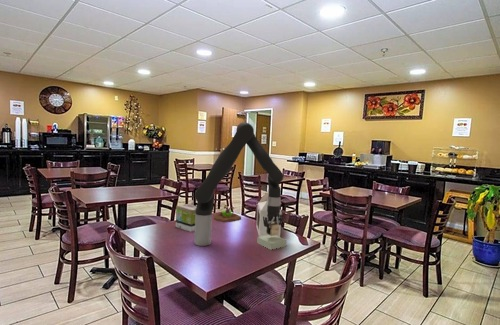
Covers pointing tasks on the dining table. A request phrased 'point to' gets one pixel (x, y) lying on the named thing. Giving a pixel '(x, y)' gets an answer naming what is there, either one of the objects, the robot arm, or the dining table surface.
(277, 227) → the maple block
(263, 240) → the sage plinth
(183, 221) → the tea box
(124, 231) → the dining table surface
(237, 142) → the robot arm
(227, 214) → the plant
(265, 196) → the gable box
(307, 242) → the dining table surface
